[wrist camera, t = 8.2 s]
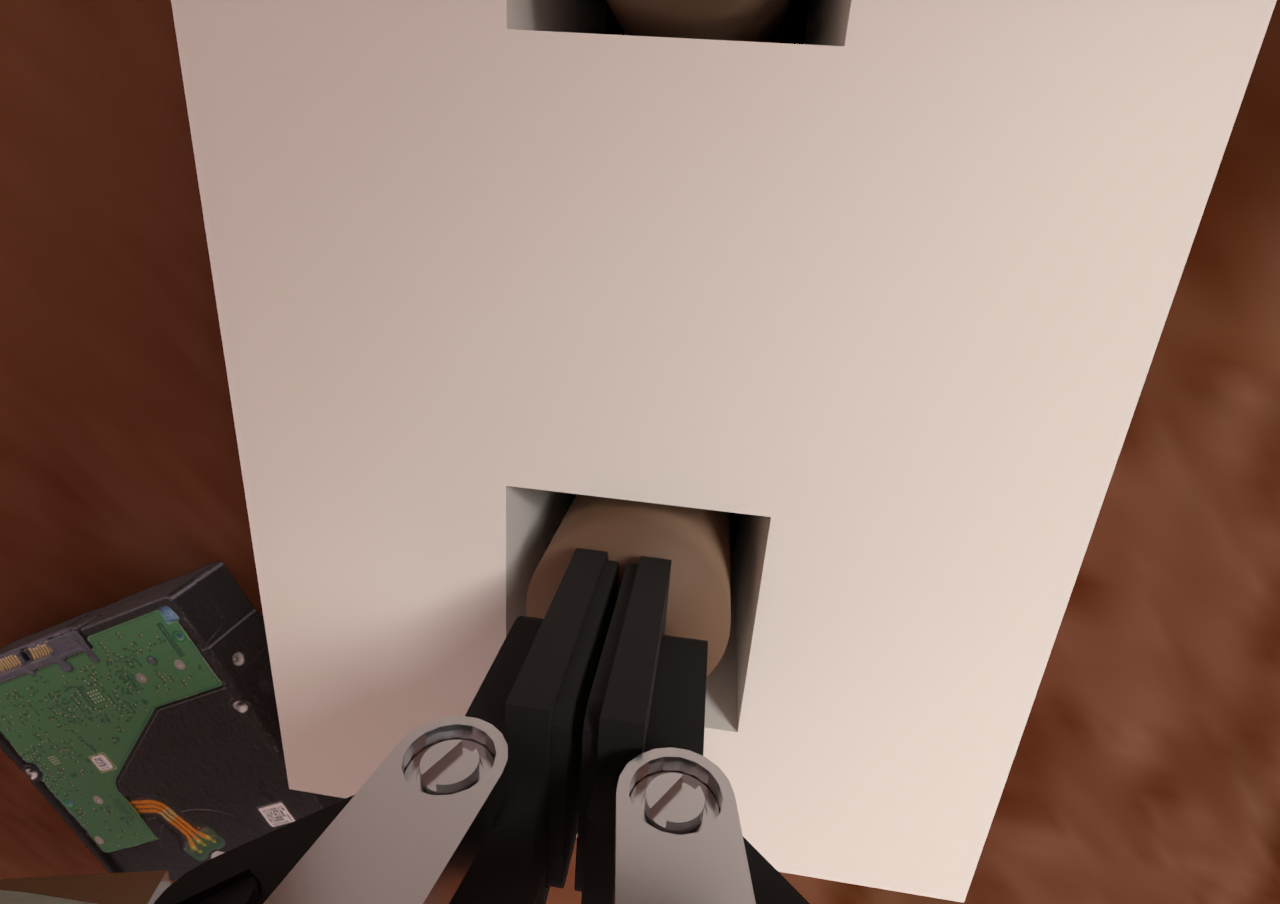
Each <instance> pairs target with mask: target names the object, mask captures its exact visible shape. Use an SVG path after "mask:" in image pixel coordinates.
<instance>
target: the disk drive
mask: <svg viewBox="0 0 1280 904" xmlns="http://www.w3.org/2000/svg"><path fill="white" fill-rule="evenodd" d="M0 747H2V751H3V752H4V753H5V754H6V755H7V756H8V757H9V758H10V759H11V760H13V761H14V762H15V763H16V765H17V766H18V767H19V769H21V770H22V771H23V772H25V773H27V776H28V777H29V778H30V779H31V783H32V784H33V785H34V786H35V787H36V788H37V789H38V790H39V792H40V793H41V794H42V795H43V796H44V797H45V799H46V800H47V801H48V803H49V804H50V805H51V806H52V807H53V808H54V809H55V811H56V812H58V813H59V814H60V816H61V817H62V818H63V820H64V821H65V822H66V823H67V824H68V825H69V827H70V828H71V829H72V830H73V831H74V832H75V833H76V834H77V836H78V837H79V839H80V840H81V841H83V842H84V844H85V846H86V847H87V848H88V849H90V851H91V853H92V854H93V855H94V856H96V857H97V858H98V859H99V860H100V862H101V863H102V865H103V867H105V868H106V870H107V871H108V872H109V873H124V872H142V871H159V870H167V871H168V875H169V879H170V880H178V879H179V878H180V877H181V876H183V875H184V874H185V873H186V872H188V871H190V870H192V869H194V868H195V867H197V866H199V865H201V864H202V863H204V862H206V861H208V860H210V859H212V858H214V857H216V856H219V855H221V854H223V853H225V852H228V851H230V850H232V849H234V848H236V847H239V846H241V845H243V844H245V843H248V842H250V841H252V840H254V839H257V838H259V837H261V836H263V835H265V834H268V833H270V832H272V831H274V830H277V829H279V828H281V827H283V826H286V825H288V824H290V823H292V822H294V821H297V820H299V819H301V818H303V817H306V816H308V815H310V814H312V813H315V812H317V811H319V810H321V809H323V808H326V807H328V806H330V805H332V804H335V803H337V802H339V801H341V800H344V799H345V798H340V797H334V796H328V795H322V794H316V793H310V792H304V791H298V790H292V789H289V785H288V778H287V771H286V765H285V758H284V751H283V745H282V738H281V731H280V725H279V718H278V711H277V705H276V698H275V691H274V685H273V678H272V671H271V664H270V658H269V651H268V644H267V638H266V631H265V624H264V620H263V619H262V617H261V616H260V614H259V613H258V611H257V610H255V609H254V608H253V606H252V605H251V603H250V602H249V600H248V599H247V597H246V596H245V594H244V593H243V591H242V590H241V588H240V587H239V585H238V584H237V582H236V580H235V579H234V577H233V576H232V575H231V574H230V572H229V571H228V569H227V568H226V566H225V565H224V564H223V563H222V562H214V563H211V564H209V565H207V566H204V567H202V568H199V569H196V570H195V571H192V572H190V573H187V574H185V575H182V576H180V577H176V578H174V579H171V580H169V581H166V582H164V583H161V584H158V585H156V586H153V587H151V588H148V589H145V590H143V591H140V592H138V593H135V594H133V595H130V596H128V597H125V598H122V599H121V600H119V601H117V602H115V603H112V604H110V605H107V606H105V607H102V608H97V609H95V610H92V611H90V612H87V613H84V614H82V615H79V616H77V617H74V618H72V619H69V620H67V621H64V622H62V623H59V624H57V625H55V626H52V627H49V628H47V629H45V630H42V631H39V632H37V633H34V634H32V635H29V636H26V637H24V638H21V639H18V640H16V641H14V642H12V643H10V644H8V645H7V646H5V647H3V648H2V649H0Z"/></svg>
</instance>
